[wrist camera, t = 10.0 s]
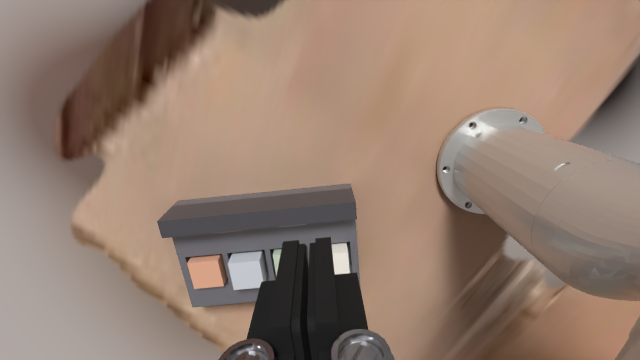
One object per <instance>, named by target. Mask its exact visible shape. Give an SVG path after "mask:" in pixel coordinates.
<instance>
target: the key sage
mask: <svg viewBox="0 0 640 360" xmlns="http://www.w3.org/2000/svg"><path fill="white" fill-rule="evenodd" d="M281 249H282V248H277V249H274V252H273V260H274V265H275V271H276V276H277V271H278V265H279V260H280V254H281Z"/></svg>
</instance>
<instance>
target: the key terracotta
mask: <svg viewBox="0 0 640 360" xmlns="http://www.w3.org/2000/svg"><path fill="white" fill-rule="evenodd" d="M187 265H188V269H189V272H190V276H191V279H192V283H193V287H194V289H200V288H210V287H221V286H224V285H225V283H226V280H227V278H228V277H227V273H226V268H225V264H224V260H223V256H222V254H214V255H204V256H194V257H191V258H190V259H189V261H188V263H187Z"/></svg>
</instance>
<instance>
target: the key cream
mask: <svg viewBox="0 0 640 360" xmlns="http://www.w3.org/2000/svg"><path fill="white" fill-rule="evenodd" d="M331 244H332V253H333V263H334V272H335V274H346V273H350V269H349V258H348V249H347V243H346V242H339V243H331Z"/></svg>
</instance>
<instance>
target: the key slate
mask: <svg viewBox="0 0 640 360" xmlns="http://www.w3.org/2000/svg"><path fill="white" fill-rule="evenodd" d="M228 267H229V271H230V276H231V280H232V284H233V289H234V290H240V289H251V288H260V285H261V282H262V281H266V278H267V270H266V265H265V259H264V254H263V250H256V251H246V252H235V253H232V255H231V257H230V260H229V262H228Z"/></svg>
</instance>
